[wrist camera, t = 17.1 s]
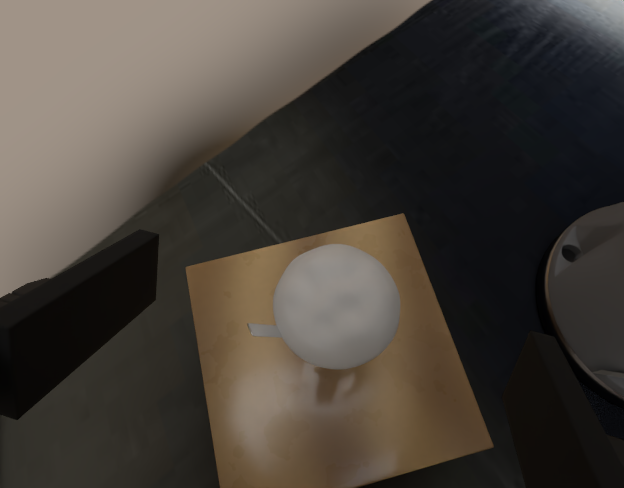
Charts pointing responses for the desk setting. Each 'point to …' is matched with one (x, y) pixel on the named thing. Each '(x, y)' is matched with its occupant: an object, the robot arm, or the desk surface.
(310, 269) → the milkshake
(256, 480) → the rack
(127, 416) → the desk surface
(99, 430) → the desk surface
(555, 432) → the robot arm
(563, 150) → the desk surface
